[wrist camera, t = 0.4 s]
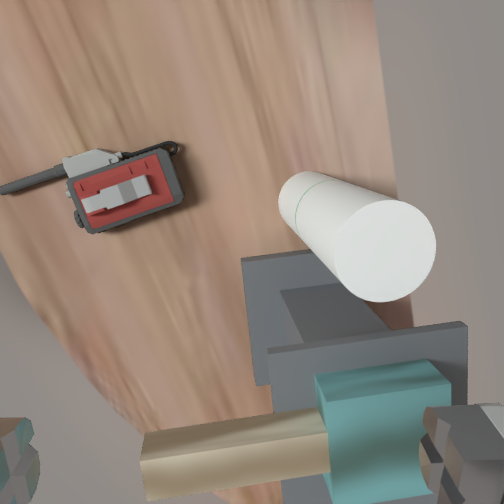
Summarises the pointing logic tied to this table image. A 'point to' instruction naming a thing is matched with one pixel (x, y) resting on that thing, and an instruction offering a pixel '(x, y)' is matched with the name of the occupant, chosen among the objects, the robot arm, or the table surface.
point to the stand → (331, 344)
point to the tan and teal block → (311, 440)
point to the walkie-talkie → (114, 185)
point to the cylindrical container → (360, 235)
